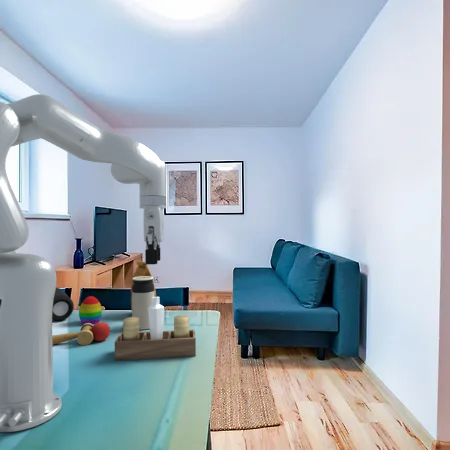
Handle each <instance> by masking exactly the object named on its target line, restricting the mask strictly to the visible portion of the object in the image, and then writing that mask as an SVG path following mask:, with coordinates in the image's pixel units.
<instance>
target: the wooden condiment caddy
mask: <svg viewBox="0 0 450 450" xmlns="http://www.w3.org/2000/svg"><path fill="white" fill-rule="evenodd" d="M122 323H123V325H122V326H123V328H122V329H123V330H122V331H123V332H119V334H118V336H117V338H116V339H115V341H114V361H128V360H146V359H148V360H149V359H165V358H182V357H196V356H197V355H196V354H197V353H196V351H197V348H196V342H197V341H196V330H195V329H190V316H188V315H186V314H185V315H183V314H182V315H176V316H174V317H173V330H163V337H162V339H151V337H150V331H140V330H139V318H136V317H132V316H131V317H126V318H124V319H123V321H122Z"/></svg>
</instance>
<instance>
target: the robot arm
mask: <svg viewBox="0 0 450 450" xmlns="http://www.w3.org/2000/svg"><path fill="white" fill-rule="evenodd" d="M40 139H42V140H45V141H46V142H48V143H49V144H50V143H51V144H52V145H54V146H56V147H57V148H60V149H62V150H64V151H65V152H67V153H69V154H70V155H72V156H74V157H76V158H78V159H81V160H83V161H87V162H93V163H101V164H102V163H103V164H104V163H105V164H111V165H110V173H111V176H112V177H113V179H114V180H115V181H117V182H118V183H120V184H124V185H125V184H126V185H131V184H135V185H137V184H138V185H139V209H143V240H144V242H145V251H144V252H145V253H144V255H145V257H144V258H145V259H144V260H145V261H144V262H145V263H146V264H147V266H148V265H158V261H161V247H160V246H161V243H162V242H164V241H165V236H164V232H165V231H164V211H163V210H164V209H167V176H166V175H167V172H166V169H167V167H166V163H165V161H163V160H160V158H159V157H158V155H157V154H156V153H155V152H154V151H152V150H151V149H150V148H149V147H147V146H146V145H145V144H143V143H141V142H139V141H138V140H135V139H133V138H130V137H128V136H125V135H122V134H118V133H116V132H113V131H111V130H106V129H103V128H100V127H98V126H96V125H95V124H93V123H92V122H90V121H89V120H88V119H86V118H84V117H82V116H81V115H79V114H78V113H76V112H75V111H74V110H72V109H70V108H69V107H67V106H65V105H64V104H62V103H61V102H60V101H58V100H56V99H55V98H53V97H51V96H49V95H46V94H41V93H40V94H39V93H38V94H33V95H29V96H27V97H24V98H21V99H19V100H16V101H13V102H10V103H4V102H2V101H0V300H1V302H0V433H11V432H12V433H13V432H19V431H24V430H25V431H26V430H28V429H31V428H34V427H38V426H39V425H42V424H43V423H46V422H48V421H49V420H51V419H52V418H54V417H55V416H56V415H57V414H58V413H59V411H60V410H61V408H62V404H63V403H62V401H63V400H62V397H60V396H59V395H58V394H56V393H54V369H53V366H54V364H53V358H54V357H53V356H54V355H53V354H54V353H53V351H54V350H53V346H54V345H52V335H53V320H52V308H53V300H54V295H55V289H56V288H57V280H58V279H57V273H56V270H55V267H54V266H53V264H52V263H51V262H50V261H49V260H47V258H44V257H42V256H40V255H35V254H33V253H32V254H31V253H19V252H18V253H17V252H16V251H17V250H18V249H20V248H22V247H23V246H24V245H25V244H26V242H27V241H28V239H29V236H30V232H29V231H30V228H29V224H28V222H27V220H26V218H25V215H24V213H23V210H22V209H21V206H20V204H19V201H18V200H17V197H16V195H15V193H14V191H13V189H12V186H11V184H10V181H9V180H10V179H9V178H8V174H7V170H6V163H7V162H6V161H7V156H8V153H9V151H10V149H11V148H12V147H15V146H18V145H22V144H24V143H29V142H31V141H36V140H40Z"/></svg>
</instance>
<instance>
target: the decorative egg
mask: <svg viewBox="0 0 450 450" xmlns="http://www.w3.org/2000/svg"><path fill="white" fill-rule="evenodd" d="M78 310H79V311H78V317H79V320H80V322H81V323H82V324H83V325H84V324H86V323H91V324H93V325H94V324H96V323H98V322H100V320H101V318H102V314H103V309H102V304H101V303H100V301H99V300H98V298H96V297H95V296H92V295H91V296H87V297H86V298H85V299H84V300H82V302H81V304H80V307H79V309H78Z"/></svg>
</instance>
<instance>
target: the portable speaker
mask: <svg viewBox="0 0 450 450" xmlns="http://www.w3.org/2000/svg"><path fill="white" fill-rule="evenodd" d="M74 308H75V304H74V301H73V299H71V297H69V295H68V294H67V293H66V292H65V291H64V290H63V289H61V288H59V287H56V289H55V295H54V300H53V308H52V321H55V322H59V321H60V322H61V321H65V320H67V319H68V318H69V317H71V315H72V314H73V312H74Z"/></svg>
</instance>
